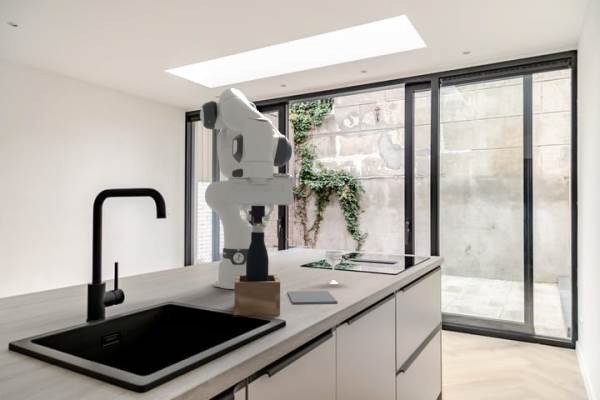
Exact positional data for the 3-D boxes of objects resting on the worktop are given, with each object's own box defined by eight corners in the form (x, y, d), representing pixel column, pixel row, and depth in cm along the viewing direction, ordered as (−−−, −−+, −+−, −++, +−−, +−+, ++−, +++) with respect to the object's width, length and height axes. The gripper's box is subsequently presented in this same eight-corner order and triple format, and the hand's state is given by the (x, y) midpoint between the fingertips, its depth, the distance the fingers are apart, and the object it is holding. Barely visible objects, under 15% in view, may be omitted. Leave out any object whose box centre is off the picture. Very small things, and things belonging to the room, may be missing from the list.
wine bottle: (264, 313, 115) (265, 205, 115) (242, 311, 116) (243, 205, 116) (270, 307, 121) (271, 205, 122) (249, 306, 122) (251, 205, 123)
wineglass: (321, 282, 162) (321, 252, 163) (330, 280, 168) (330, 250, 168) (336, 284, 158) (336, 253, 159) (344, 282, 164) (345, 251, 164)
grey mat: (287, 293, 142) (287, 291, 142) (327, 292, 143) (327, 290, 144) (292, 304, 126) (292, 302, 126) (337, 303, 128) (337, 301, 128)
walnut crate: (235, 305, 124) (236, 275, 124) (276, 304, 125) (277, 274, 126) (234, 315, 112) (234, 282, 112) (279, 314, 113) (280, 282, 113)
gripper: (293, 174, 124) (292, 220, 123) (223, 173, 121) (223, 220, 121) (295, 172, 117) (294, 221, 117) (222, 171, 115) (221, 220, 115)
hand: (257, 220), depth 119 cm, fingers closed on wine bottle, 4 cm apart
